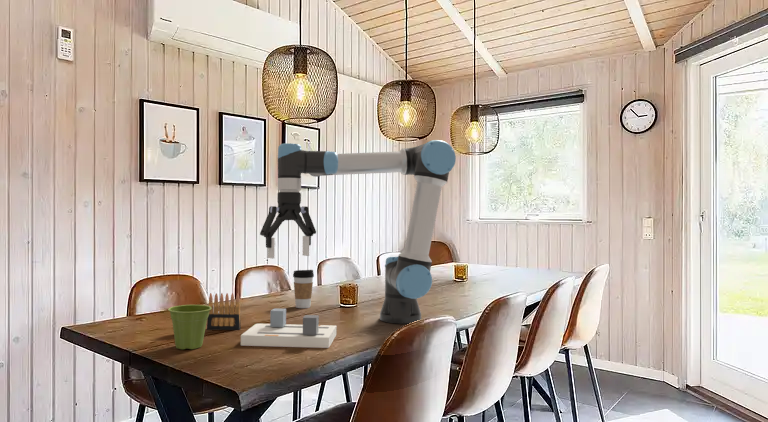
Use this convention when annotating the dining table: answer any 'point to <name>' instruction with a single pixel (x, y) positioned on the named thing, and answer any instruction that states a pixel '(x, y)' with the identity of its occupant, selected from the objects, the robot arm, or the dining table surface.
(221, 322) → the ammunition clip
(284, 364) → the dining table surface
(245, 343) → the switch panel
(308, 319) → the tab front
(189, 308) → the plant pot
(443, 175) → the robot arm
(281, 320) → the tab back
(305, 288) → the coffee cup
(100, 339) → the dining table surface
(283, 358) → the dining table surface
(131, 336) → the dining table surface
